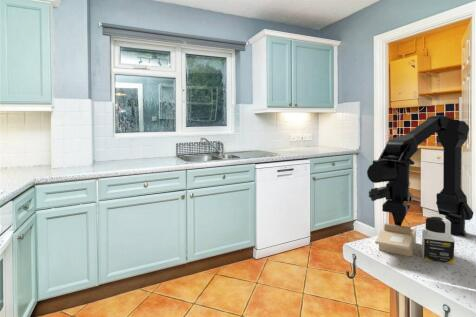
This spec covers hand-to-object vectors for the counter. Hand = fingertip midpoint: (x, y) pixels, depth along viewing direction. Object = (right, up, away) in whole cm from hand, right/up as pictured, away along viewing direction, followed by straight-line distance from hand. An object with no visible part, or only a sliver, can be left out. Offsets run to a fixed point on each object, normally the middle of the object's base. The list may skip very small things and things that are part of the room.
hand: (397, 227), depth 94 cm
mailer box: (0, -7, +1) cm, 7 cm away
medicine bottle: (+8, -7, -7) cm, 13 cm away
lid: (-4, -2, -5) cm, 7 cm away
